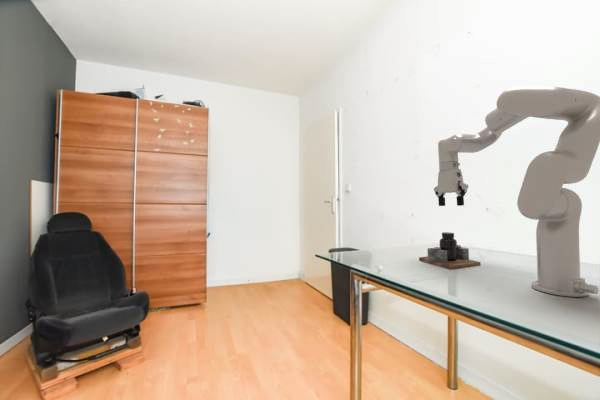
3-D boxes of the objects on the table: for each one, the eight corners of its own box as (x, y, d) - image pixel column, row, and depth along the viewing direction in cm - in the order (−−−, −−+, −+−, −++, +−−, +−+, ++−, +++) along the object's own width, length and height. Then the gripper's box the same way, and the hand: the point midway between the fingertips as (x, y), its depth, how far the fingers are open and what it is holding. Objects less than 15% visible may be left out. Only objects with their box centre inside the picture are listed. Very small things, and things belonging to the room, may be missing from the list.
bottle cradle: (480, 265, 114) (479, 247, 114) (451, 269, 109) (450, 251, 109) (445, 257, 131) (445, 242, 131) (419, 260, 126) (418, 244, 126)
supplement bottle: (441, 261, 118) (440, 233, 118) (438, 257, 124) (437, 231, 124) (459, 261, 116) (458, 233, 116) (454, 258, 122) (453, 231, 122)
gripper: (473, 164, 112) (475, 205, 111) (439, 170, 128) (441, 205, 128) (459, 163, 110) (461, 205, 109) (427, 170, 126) (429, 206, 126)
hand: (450, 205), depth 118 cm, fingers open, 9 cm apart
